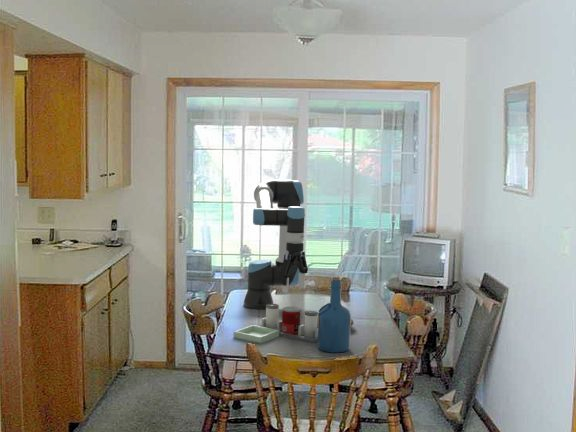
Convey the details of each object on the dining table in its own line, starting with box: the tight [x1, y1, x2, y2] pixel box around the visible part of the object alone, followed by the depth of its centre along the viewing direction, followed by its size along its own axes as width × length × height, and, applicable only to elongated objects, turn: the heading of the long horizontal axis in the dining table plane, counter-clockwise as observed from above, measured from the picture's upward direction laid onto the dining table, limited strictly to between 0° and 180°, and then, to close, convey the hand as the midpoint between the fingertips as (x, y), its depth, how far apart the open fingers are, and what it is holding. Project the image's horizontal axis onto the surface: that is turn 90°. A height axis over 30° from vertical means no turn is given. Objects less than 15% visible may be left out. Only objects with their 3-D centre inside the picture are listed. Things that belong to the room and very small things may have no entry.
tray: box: [232, 324, 280, 345], centre depth 294 cm, size 14×14×3 cm
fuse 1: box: [265, 303, 280, 330], centre depth 308 cm, size 6×6×11 cm
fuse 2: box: [303, 310, 318, 339], centre depth 297 cm, size 6×6×11 cm
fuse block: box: [258, 316, 318, 343], centre depth 303 cm, size 31×13×4 cm, turn 58°
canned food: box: [281, 306, 301, 335], centre depth 302 cm, size 8×8×11 cm
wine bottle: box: [317, 275, 352, 354], centre depth 280 cm, size 14×13×30 cm
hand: (293, 290), depth 301 cm, fingers open, 13 cm apart
